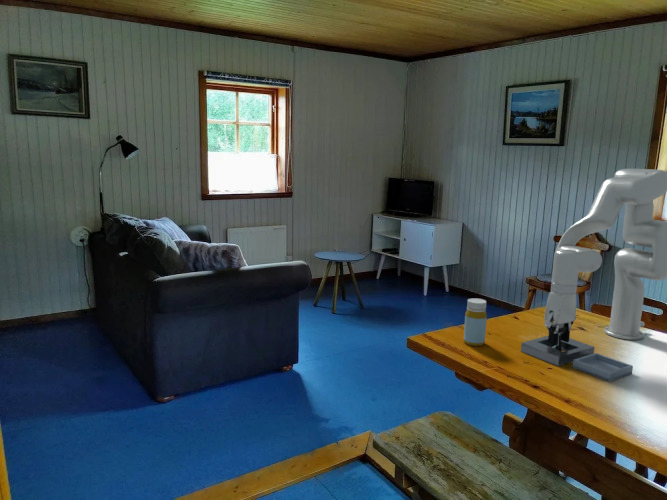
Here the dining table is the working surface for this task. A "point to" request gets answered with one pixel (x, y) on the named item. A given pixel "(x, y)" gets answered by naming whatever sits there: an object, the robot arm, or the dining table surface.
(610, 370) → the tray
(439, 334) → the dining table surface
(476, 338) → the bottle
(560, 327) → the push button
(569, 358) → the block
